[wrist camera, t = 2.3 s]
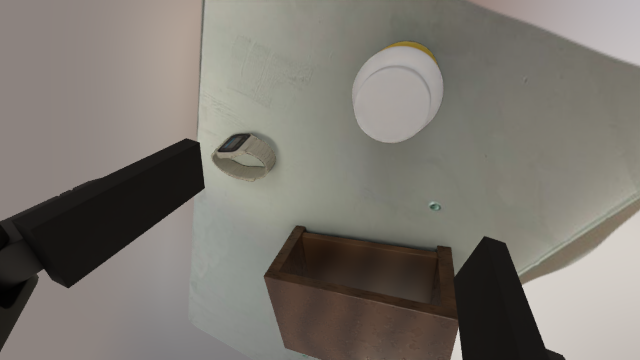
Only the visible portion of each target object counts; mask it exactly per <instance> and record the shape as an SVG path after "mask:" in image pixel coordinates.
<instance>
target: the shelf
mask: <svg viewBox="0 0 640 360" xmlns="http://www.w3.org/2000/svg"><path fill="white" fill-rule="evenodd" d="M454 277H455V275H454V267H453V259H452V252H451V248H450V247H443V246H437V252H431V251H425V250H418V249H411V248H405V247H398V246H392V245H385V244H378V243H372V242H365V241H359V240H352V239H345V238H339V237H332V236H325V235H319V234H312V233H306V229H305V227H303V226H296V227H295V228H294V230H293V231H292V233H291V234H290V236H289V237H288V239H287V241H286V242H285V244H284V245H283V247H282V248H281V250H280V251H279V253H278V255H277V256H276V258H275V259H274V261H273V262H272V264H271V266H270V267H269V269H268V270H267V272H266V273H265V275H264V279H265V283H266V286H267V289H268V293H269V296H270V299H271V303H272V306H273V309H274V313H275V316H276V319H277V323H278V326H279V329H280V333H281V336H282V339H283V343H284V346H285V348H287V349H290V350H293V351H296V352H299V353H302V354H306V355H309V356H312V357H315V358H318V359H321V360H450V359H451V354H452V351H453V347H454V343H455V339H456V335H457V331H458V327H459V325H458V316H457V308H456V299H455V291H454V282H453V279H454Z"/></svg>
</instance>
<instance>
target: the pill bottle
mask: <svg viewBox="0 0 640 360" xmlns="http://www.w3.org/2000/svg"><path fill="white" fill-rule="evenodd" d="M442 98H443V79H442V75H441V72H440V70H439V67H438V64H437V62H436V59H435V57H434V55H433V54H432V53H431V52H430V50H429V49H428V48H426V47H425V46H423V45H422V44H420V43H417V42H413V41H401V42H397V43H394V44H391V45H389V46H387V47H386V48H384V49H383V50H381V51H380V52H378V53H376V54H375V55H373V56H372V57H371V58H370V59H369V60H368V61H367V62H366V63H365V64H364V65H363V66H362V67H361V69H360V70H359V72H358V74H357V76H356V78H355V81H354V85H353V90H352V102H353V107H354V112H355V117H356V120H357V122H358V124H359V126H360V128H361V129H362V130H363V131H364V132H365V133H366V134H367V135H368V136H369V137H371V138H373V139H375V140H377V141H380V142H385V143H396V142H400V141H404V140H406V139H409V138H410V137H412V136H414V135H415V134H416V133H417V132H419V131H420V130H421V129H422V128H424V127H425V126H426V125H427V124H428V123H429V122H430V121H431V120H432V119H433V118H434V116H435V115H436V113H437V111H438V110H439V107H440V105H441V102H442Z"/></svg>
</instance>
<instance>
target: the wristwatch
mask: <svg viewBox="0 0 640 360" xmlns="http://www.w3.org/2000/svg"><path fill="white" fill-rule="evenodd" d="M246 153H247V154H250V155H253V156H255V157H256V158H258V159H259V160H260V161H261V162H262V163H263V164H264V166H265V167H263V168H262V167H248V166H243V165H240V164H238V163H236V162H235V161H232V160H231V159H230V158H234V157H236V156H238V155H241V154H246ZM211 159H212V161H213V163H214V164H215V165H216V166H217V167H218V168H219V169H220V170H221V171H223V172H224V173H226V174H228V175H229V176H232V177H235V178H238V179H242V180H246V181H252V182H254V181H255V179H260V178H263V177H265V176H266V175H267V173H268V172H269V171H270V169H271V168H272V166H273V165H274V164H275V160H276V157H275V154H274V151H273V150H272V148H271V147H270V146H269V145H268V144H267V143H265V142H264V141H262V140H259V139H257V137H254V136H253V135H252V134H236V135H233V136H231V137H229V138H227V139H226V140H225V141H224V142H223V143H222V144H221V145H220V146H219V147H218V148H217V149H216V150H215V151H214V152H213V153H212V155H211Z"/></svg>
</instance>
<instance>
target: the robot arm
mask: <svg viewBox="0 0 640 360" xmlns="http://www.w3.org/2000/svg"><path fill="white" fill-rule="evenodd" d="M204 188H205V186H204V177H203V168H202V159H201V151H200V143H199V142H196V141H193V140H190V139H187V138H186V139H184V140H182V141H180V142H178V143H175V144H173V145H171V146H169V147H167V148H165V149H163V150H161V151H158V152H156V153H154V154H152V155H150V156H148V157H146V158H143V159H141V160H139V161H137V162H135V163H133V164H131V165H129V166H126V167H124V168H122V169H120V170H118V171H116V172H114V173H111V174H109V175H107V176H105V177H103V178H99V179H95V180H92V181H88V182H86V183H84V184H81V185H79V186H77V187H75V188H73V190H68V191H66V192H64V193H62V194H60V196H55V197H53V198H51V199H49V200H47V201H44V202H42V203H40V204H38V205H36V206H34V207H31V208H29V209H27V210H25V211H23V212H20V213H18V214H16V215H14V216H12V217H10V218H7V219H5V220H2V221H0V351H1V349H2V348H3V346H4V344H5V342H6V340H7V338H8V336H9V334H10V333H11V331H12V329H13V327H14V325H15V323H16V322H17V320H18V318H19V316H20V314H21V312H22V310H23V308H24V307H25V305H26V303H27V301H28V299H29V297H30V296H31V294H32V292H33V290H34V288H35V286H36V284H37V282H38V278H39V277H38V275H37V273H38V272H40V271H41V270H43V269H45V271H46V272H47V273H48V275H49V276H50V278H51V279H52V280H53V281H55V282H57V283H59V284H61V285H63V286H65V287H67V288H70V287H71V286H72V285H74V284H75V283H77V282H78V281H79V280H81V279H82V278H83V277H85V276H86V275H87V274H89V273H90V272H92V271H93V270H94V269H95V268H97V267H98V266H100V265H101V264H102V263H104V262H105V261H106V260H108V259H109V258H111V257H112V256H113V255H115V254H116V253H117V252H119V251H120V250H121V249H123V248H124V247H125V246H127V245H128V244H130V243H131V242H132V241H134V240H135V239H136V238H138V237H139V236H140V235H142V234H143V233H144V232H146V231H147V230H148V229H150V228H151V227H153V226H154V225H155V224H157V223H158V222H159V221H161V220H162V219H164V218H165V217H166V216H168V215H169V214H170V213H172V212H173V211H174V210H176V209H177V208H178V207H180V206H181V205H183V204H184V203H185V202H187V201H188V200H189V199H191V198H192V197H193V196H195V195H196V194H197V193H199V192H200V191H202V190H203V189H204ZM453 282H454V291H455V299H456V308H457V316H458V325H459V332H460V341H461V350H462V358H463V360H565V358H564V357H563V355H560V354H558V353H555V352H553V351H551V350H548V349H546V348H545V346H544V343H543V340H542V338H541V335H540V333H539V330H538V327H537V325H536V322H535V319H534V317H533V314H532V311H531V309H530V306H529V304H528V301H527V298H526V296H525V293H524V290H523V288H522V285H521V283H520V280H519V277H518V275H517V272H516V269H515V267H514V264H513V262H512V259H511V256H510V254H509V251H508V248H507V246H506V243H504V242H501V241H498V240H495V239H492V238H489V237H486V236H484V237H483V239H482V240H481V241H480V243H479V244H478V246H477V247H476V248H475V250H474V251H473V252H472V254H471V255H470V257H469V258H468V259H467V261H466V262H465V264H464V265H463V266H462V268H461V269H460V271H459V272H458V273H457V275H456V276H455V277H454V279H453Z"/></svg>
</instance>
